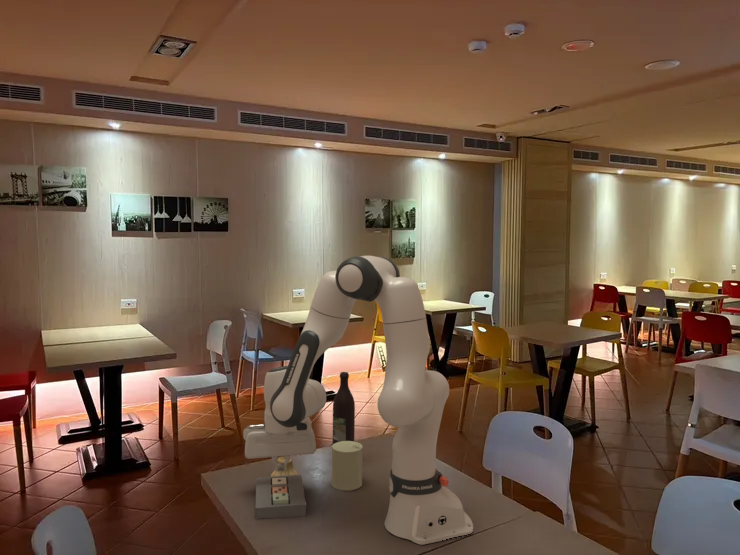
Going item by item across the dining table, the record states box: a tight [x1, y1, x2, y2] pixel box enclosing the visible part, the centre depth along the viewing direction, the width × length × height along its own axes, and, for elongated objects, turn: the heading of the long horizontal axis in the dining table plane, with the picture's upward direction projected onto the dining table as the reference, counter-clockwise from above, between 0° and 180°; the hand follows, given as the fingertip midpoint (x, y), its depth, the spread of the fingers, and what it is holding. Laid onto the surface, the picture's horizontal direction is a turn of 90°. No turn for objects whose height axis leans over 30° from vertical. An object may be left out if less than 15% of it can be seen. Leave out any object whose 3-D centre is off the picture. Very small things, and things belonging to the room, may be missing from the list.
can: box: [330, 440, 364, 492], centre depth 169 cm, size 9×9×12 cm
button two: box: [273, 493, 288, 505], centre depth 151 cm, size 4×4×3 cm
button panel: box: [255, 474, 307, 520], centre depth 157 cm, size 13×19×3 cm
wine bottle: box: [332, 371, 356, 445], centre depth 183 cm, size 7×7×30 cm
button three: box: [272, 486, 287, 495], centre depth 157 cm, size 4×4×3 cm
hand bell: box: [270, 456, 299, 477], centre depth 173 cm, size 8×8×16 cm
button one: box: [272, 477, 287, 485], centre depth 163 cm, size 4×4×3 cm
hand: (281, 470), depth 162 cm, fingers closed
